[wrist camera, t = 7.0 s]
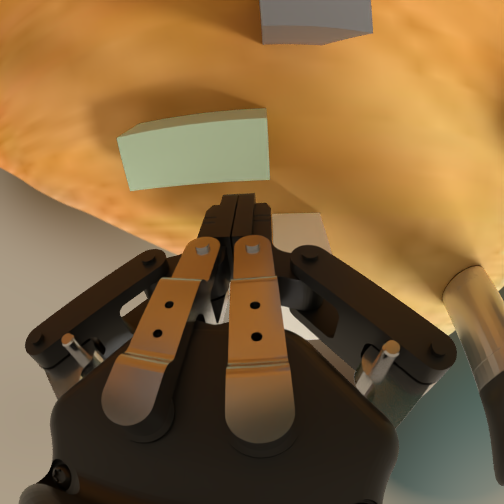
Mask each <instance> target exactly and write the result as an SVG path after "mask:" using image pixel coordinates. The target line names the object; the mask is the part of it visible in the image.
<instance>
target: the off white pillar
mask: <svg viewBox="0 0 504 504" xmlns="http://www.w3.org/2000/svg"><path fill="white" fill-rule="evenodd" d="M272 223H273V245H274V246H275V247H276V248H277V249H279V250H281V251H284V252H289V253H291V252H292V251H293V250H294V249H295V248H297V247H299V246H302V245H315V246H318V247H321V248H323V249H324V250H326V251H327V252H329V253H330V254H332V252H331V248H330V245H329V241H328V238H327V234H326V231H325V228H324V225H323V221H322V218H321V215H320V213H285V214H272ZM281 309H282V317H283V324H284V329H287V330H289V331H292V332H294V333H296V334H298V335H300V336H301V337H303V338H304V339H305V340H316V339H319V338H318V337H316V336H315V335H314V334H313V333H312V332H311V331H310V330H309V329H307V328H306V327H305V326H304V325H303V324H302V323H301V322H300V321H298V320H297V319H296V318H295V317H294V316H293V315H292V314H291V312H290V310H289V308H288V307H284V306H281Z"/></svg>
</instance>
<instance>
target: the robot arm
mask: <svg viewBox="0 0 504 504" xmlns="http://www.w3.org/2000/svg"><path fill="white" fill-rule="evenodd" d="M230 282H231V284H230V310H229V322H228V323H223V319H224V315H225V311H226V307H227V303H228V299H229V291H228V288H229V283H230ZM142 291H144V292H145V294H146V296H147V298H148V299H147V300H145V301H144V302H142V303H141V304H140V305H138V306H137V307H136V308H134V309H133V310H132V311H130V312H129V313H128V314H126V315H125V316H123V317H121V316H120V310H121V308H122V306H123V305H125V304H126V303H127V302H128V301H130V300H131V299H133V298H134V297H136V296H137V295H138V294H140V293H141V292H142ZM442 300H443V303H444V305H445V307H446V309H447V311H448V314H449V316H450V318H451V320H452V323H453V325H454V327H455V329H456V332H457V334H458V336H459V339H460V341H461V343H462V346H463V348H464V351H465V353H466V356H467V359H468V361H469V364H470V367H471V370H472V373H473V375H474V378H475V381H476V384H477V387H478V390H479V394H480V397H481V400H482V403H483V407H484V410H485V414H486V417H487V421H488V426H489V431H490V438H491V446H492V454H493V464H494V471H495V476H496V480H497V481H498V483H499V484H500V485H501V486H504V301H503V299H502V297H501V296H500V294H499V292H498V291H497V289H496V287H495V285H494V284H493V282H492V281H491V279H490V278H489V276H488V274H487V273H486V271H485V270H484V269H483V268H482V267H480V266H473V267H470V268H467V269H465V270H464V271H462V272H461V273H459V274H458V275H457V276H456V277H455V278H453V279H452V281H451V282H450V283H449V284H448V286H447V287H446V289H445V291H444V293H443V297H442ZM281 306H284V307H288V308H289V310H290V312H291V314H292V315H293V316H294V317H295V318H296V319H297V320H298V321H300V322H301V323H302V324H303V325H304V326H305V327H306V328H307V329H309V330H310V331H311V332H312V333H313V334H314V335H315V336H316V337H318V338H319V339H320V340H321V341H322V342H323V343H324V344H325V345H327V346H328V347H329V348H330V349H331V350H332V351H333V352H335V353H336V354H337V355H338V356H339V357H340V358H341V359H343V360H344V361H345V362H346V363H347V364H348V365H350V366H351V367H352V368H353V369H354V370H355V374H354V382H355V385H356V387H357V388H358V389H359V390H357V389H356V388H355V387H354V386H353V385H352V384H351V383H350V382H349V381H348V380H347V379H346V378H345V377H344V376H343V375H342V374H341V373H340V372H339V371H338V370H337V369H336V368H334V366H332V364H330V363H329V361H327V360H326V359H325V358H324V357H323V356H322V355H321V354H320V353H319V352H318V351H317V350H316V349H315V348H314V347H313V346H312V345H311V344H310V343H309V342H308V341H307V340H305V339H304V338H303V337H301V336H300V335H298V334H296V333H294V332H292V331H289V330H287V329H284V324H283V317H282V309H281ZM25 348H26V351H27V353H28V354H29V355H30V356H31V357H32V358H33V359H34V360H35V361H36V362H37V363H38V364H39V366H40V367H41V368H42V369H43V370H44V371H45V372H46V375H47V377H48V380H49V382H50V384H51V386H52V389H53V391H54V393H55V395H56V397H57V399H58V401H57V402H56V404H55V406H54V408H53V410H52V414H51V419H50V428H51V436H52V445H53V460H52V465H51V468H50V470H49V472H48V474H47V475H46V476H45V477H44V478H43V479H42V480H40V481H39V482H37V483H36V484H33V485H31V486H29V487H27V488H26V489H25V490H24V491H23V492H22V494H21V496H20V500H19V504H382V501H383V496H384V492H385V489H386V485H387V482H388V480H389V477H390V474H391V472H392V470H393V468H394V466H395V464H396V461H397V457H398V452H399V441H398V436H397V433H396V430H395V428H396V427H397V426H398V425H399V424H400V423H401V422H402V420H403V419H404V418H405V417H406V416H407V414H408V413H409V412H410V411H411V410H412V408H413V407H414V406H415V405H416V403H417V402H418V401H419V399H420V398H421V397H422V396H423V395H424V394H426V393H427V392H428V391H429V390H430V388H432V387H433V386H434V384H435V383H436V382H437V381H438V380H439V379H440V378H441V377H442V376H443V375H444V374H445V372H447V370H448V369H449V368H450V367H451V366H452V365H453V364H454V362H455V360H456V356H457V351H456V346H455V344H454V342H453V341H452V339H450V337H449V336H448V335H446V334H445V333H444V332H442V331H441V330H440V329H438V328H437V327H436V326H434V325H433V324H432V323H430V322H429V321H427V320H426V319H425V318H423V317H422V316H421V315H419V314H418V313H416V312H415V311H414V310H412V309H411V308H409V307H408V306H407V305H405V304H404V303H402V302H401V301H400V300H398V299H397V298H395V297H394V296H392V295H391V294H390V293H388V292H387V291H385V290H384V289H382V288H381V287H380V286H378V285H377V284H375V283H374V282H372V281H371V280H369V279H368V278H366V277H365V276H363V275H362V274H360V273H359V272H357V271H356V270H355V269H353V268H352V267H350V266H349V265H347V264H346V263H344V262H342V261H341V260H339V259H338V258H336V257H335V256H333V255H332V254H330V253H329V252H327V251H326V250H324V249H323V248H321V247H318V246H315V245H302V246H299V247H297V248H295V249H294V250H293V251H292V252H291V253H289V252H284V251H281V250H279V249H277V248H276V247H275V246H274V245H273V244H272V229H271V208H270V207H269V206H268V205H267V203H256V199H255V193H251V194H232V195H223V197H222V200H221V204H220V205H214V206H212V207H211V208H210V209H208V210H207V211H206V214H205V217H204V220H203V224H202V226H201V228H200V231H199V234H198V237H197V239H194V240H192V241H191V242H189V243H188V244H187V246H186V248H185V250H184V252H183V254H180V255H177V256H173V257H169V258H166V255H165V253H164V252H163V251H162V250H158V249H152V250H147V251H145V252H143V253H141V254H139V255H138V256H136V257H135V258H133V259H132V260H130V261H129V262H127V263H126V264H124V265H123V266H121V267H120V268H118V269H117V270H115V271H114V272H112V273H111V274H109V275H108V276H106V277H105V278H103V279H102V280H100V281H99V282H97V283H96V284H95V285H93V286H92V287H90V288H89V289H87V290H86V291H85V292H83V293H82V294H80V295H79V296H78V297H76V298H75V299H73V300H72V301H71V302H69V303H68V304H67V305H65V306H64V307H62V308H61V309H60V310H58V311H57V312H56V313H54V314H53V315H52V316H50V317H49V318H48V319H46V320H45V321H44V322H42V323H41V324H40V325H39V326H37V327H36V328H35V329H33V330H32V331H31V333H30V334H29V335H28V337H27V339H26V343H25Z"/></svg>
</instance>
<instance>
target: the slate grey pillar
mask: <svg viewBox="0 0 504 504" xmlns="http://www.w3.org/2000/svg"><path fill="white" fill-rule="evenodd" d="M259 5H260V17H261V30H262V43H263V45H264V44H308V45H325V44H328V43H332V42H336V41H340V40H344V39H348V38H352V37H357V36H362V35H366V34H372V33H373V26H372V11H371V0H259Z"/></svg>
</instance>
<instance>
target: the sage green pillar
mask: <svg viewBox="0 0 504 504" xmlns="http://www.w3.org/2000/svg"><path fill="white" fill-rule="evenodd" d="M117 142H118V147H119V151H120V155H121V159H122V163H123V166H124V170H125V174H126V178H127V181H128V185H129V188H130V191H135V190H143V189H152V188H160V187H170V186H180V185H191V184H203V183H217V182H233V181H252V180H270V170H269V148H268V128H267V111H266V108H256V109H240V110H228V111H217V112H208V113H200V114H192V115H185V116H178V117H172V118H166V119H160V120H155V121H150V122H145V123H140V124H138V125H136V126H134V127H133V128H131V129H129V130H128V131H126V132H125V133H123V134H122V135H120V136H118V137H117Z"/></svg>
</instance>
